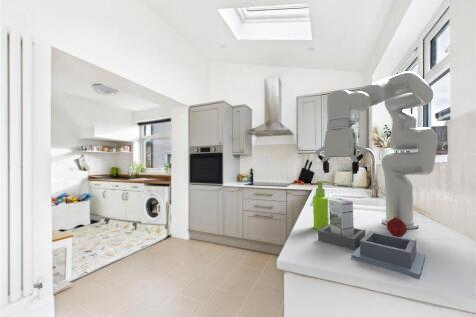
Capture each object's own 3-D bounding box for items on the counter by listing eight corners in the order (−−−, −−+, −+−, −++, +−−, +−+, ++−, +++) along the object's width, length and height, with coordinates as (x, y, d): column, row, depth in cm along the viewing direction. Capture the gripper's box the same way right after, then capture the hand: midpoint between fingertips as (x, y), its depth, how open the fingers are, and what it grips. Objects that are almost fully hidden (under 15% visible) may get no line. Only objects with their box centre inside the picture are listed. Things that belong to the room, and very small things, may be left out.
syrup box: (354, 241, 72) (353, 200, 72) (341, 244, 70) (340, 201, 70) (341, 236, 77) (340, 197, 78) (329, 238, 75) (328, 198, 76)
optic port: (366, 243, 70) (365, 228, 70) (425, 257, 59) (424, 240, 60) (351, 258, 60) (350, 240, 60) (419, 278, 49) (419, 257, 49)
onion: (410, 241, 72) (410, 218, 72) (392, 240, 73) (391, 217, 73) (401, 235, 77) (400, 214, 77) (384, 234, 78) (383, 213, 79)
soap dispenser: (332, 231, 83) (330, 181, 83) (313, 229, 85) (312, 181, 85) (330, 227, 88) (329, 180, 89) (313, 225, 91) (312, 180, 91)
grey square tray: (331, 232, 82) (331, 223, 82) (365, 239, 73) (365, 230, 73) (318, 240, 74) (318, 230, 74) (354, 250, 65) (354, 239, 65)
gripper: (369, 123, 71) (370, 173, 70) (320, 130, 83) (321, 172, 83) (363, 120, 65) (364, 174, 65) (311, 128, 78) (312, 173, 77)
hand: (340, 173), depth 74 cm, fingers open, 9 cm apart
